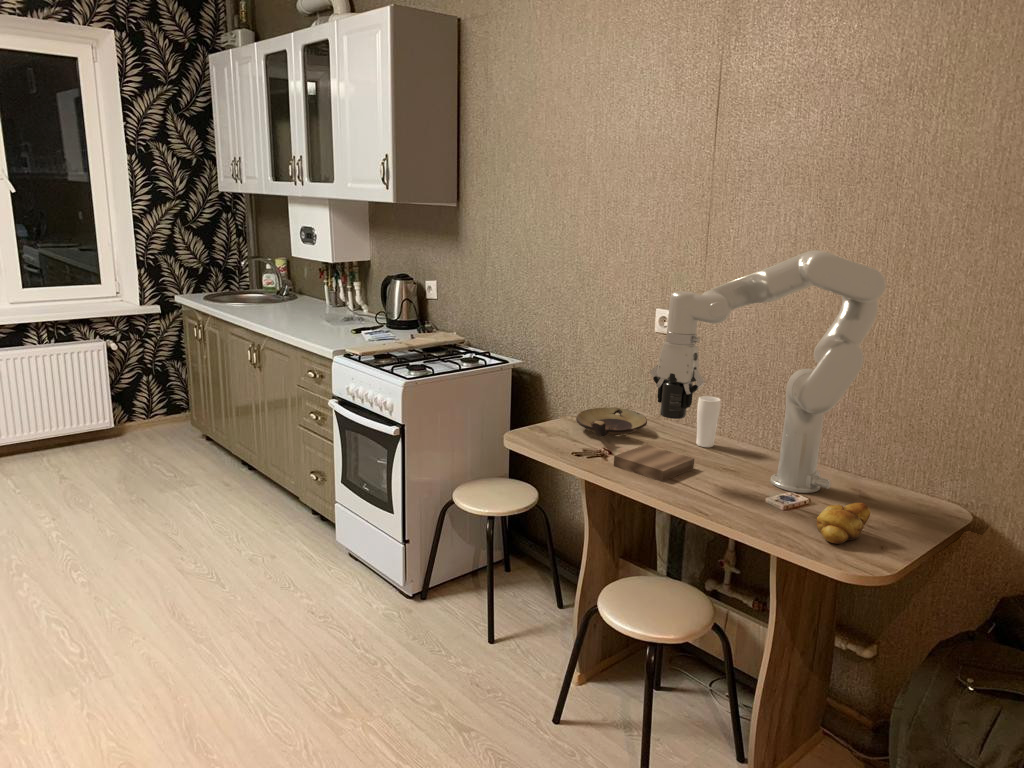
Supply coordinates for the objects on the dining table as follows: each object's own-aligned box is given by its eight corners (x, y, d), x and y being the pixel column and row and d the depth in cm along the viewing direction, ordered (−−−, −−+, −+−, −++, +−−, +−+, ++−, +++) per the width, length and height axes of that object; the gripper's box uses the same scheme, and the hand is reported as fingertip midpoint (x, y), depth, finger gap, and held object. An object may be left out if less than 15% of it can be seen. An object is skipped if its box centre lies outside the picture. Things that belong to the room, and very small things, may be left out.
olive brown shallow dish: (660, 432, 245) (662, 410, 243) (603, 451, 224) (605, 426, 222) (605, 417, 260) (607, 396, 258) (548, 433, 239) (549, 410, 237)
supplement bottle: (690, 416, 202) (695, 373, 199) (678, 421, 197) (682, 376, 194) (667, 411, 206) (671, 368, 204) (654, 415, 201) (659, 371, 198)
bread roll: (844, 551, 163) (850, 517, 161) (802, 536, 170) (807, 503, 168) (869, 536, 171) (875, 503, 169) (828, 522, 178) (833, 490, 176)
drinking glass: (714, 442, 236) (719, 396, 233) (717, 449, 229) (722, 402, 226) (692, 441, 237) (696, 395, 233) (695, 448, 230) (700, 400, 227)
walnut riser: (693, 468, 211) (694, 458, 211) (662, 481, 200) (663, 471, 199) (645, 454, 222) (646, 444, 221) (613, 465, 211) (614, 455, 210)
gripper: (717, 342, 194) (709, 409, 198) (659, 332, 205) (653, 396, 209) (703, 345, 189) (696, 414, 193) (644, 335, 200) (638, 400, 204)
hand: (673, 404), depth 201 cm, fingers closed on supplement bottle, 6 cm apart
